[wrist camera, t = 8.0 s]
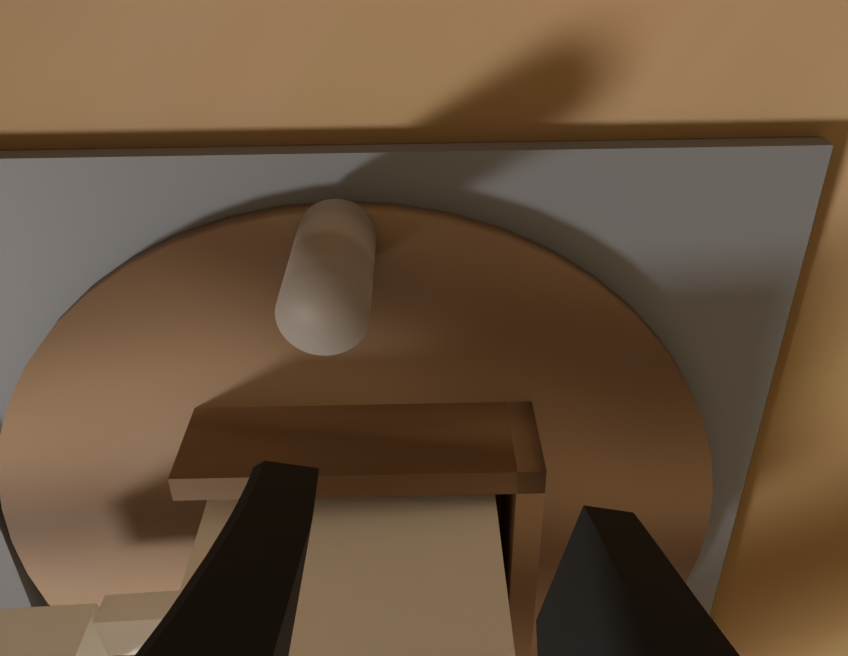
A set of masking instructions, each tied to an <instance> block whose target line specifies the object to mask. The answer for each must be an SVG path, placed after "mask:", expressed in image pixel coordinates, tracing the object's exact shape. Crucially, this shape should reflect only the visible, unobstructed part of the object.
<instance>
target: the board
mask: <svg viewBox="0 0 848 656" xmlns="http://www.w3.org/2000/svg"><path fill="white" fill-rule="evenodd" d="M832 149H833V144H831V143H830V142H829V141H827V140H826V139H825V138H823V137H798V138H737V139H676V140H614V141H553V142H492V143H431V144H370V145H308V146H247V147H186V148H125V149H64V150H3V151H0V434H1V430H2V426H3V422H4V418H5V414H6V410H7V406H8V402H9V400H10V398H11V395H12V393H13V391H14V389H15V387H16V385H17V383H18V381H19V378H20V376H21V374H22V372H23V370H24V368H25V366H26V364H27V363H28V361H29V360H30V359H31V357H32V356H33V354H34V353H35V352H36V350H37V349H38V347H39V346H40V345H41V343H42V342H43V340H44V339H45V338H46V336H47V335H48V333H49V332H50V331H51V329H52V328H53V327H54V325H55V324H56V322H57V321H58V320H59V318H60V317H61V316H62V315H63V314H64V313H65V312H66V311H67V310H68V309H69V308H70V307H71V306H72V305H73V304H74V303H75V302H76V301H77V300H78V299H79V298H80V297H81V296H82V295H83V294H84V293H85V292H86V291H87V290H88V289H89V288H90V287H91V286H92V285H93V284H95V283H96V282H98V281H99V280H100V279H102V278H103V277H105V276H106V275H107V274H109V273H110V272H112V271H113V270H114V269H116V268H117V267H119V266H120V265H121V264H123V263H124V262H126V261H127V260H128V259H130V258H131V257H133V256H135V255H137V254H139V253H141V252H143V251H145V250H147V249H149V248H151V247H153V246H155V245H157V244H159V243H160V242H162V241H164V240H166V239H168V238H170V237H172V236H174V235H176V234H179V233H182V232H185V231H187V230H190V229H193V228H196V227H199V226H202V225H205V224H208V223H210V222H213V221H216V220H219V219H222V218H225V217H228V216H233V215H238V214H243V213H247V212H252V211H257V210H262V209H267V208H271V207H276V206H281V205H293V204H306V203H318V202H320V201H323V200H327V199H344V200H348V201H351V202H374V203H396V204H402V205H408V206H414V207H420V208H426V209H432V210H438V211H444V212H450V213H454V214H457V215H460V216H464V217H467V218H470V219H474V220H477V221H481V222H484V223H487V224H491V225H494V226H497V227H501V228H504V229H506V230H508V231H511V232H513V233H515V234H518V235H520V236H522V237H524V238H527V239H529V240H531V241H533V242H536V243H538V244H540V245H542V246H545V247H547V248H549V249H551V250H553V251H555V252H556V253H558V254H560V255H561V256H563V257H565V258H566V259H568V260H569V261H571V262H573V263H574V264H576V265H578V266H579V267H581V268H583V269H584V270H586V271H587V272H589V273H591V274H592V275H594V276H595V277H597V278H598V279H599V280H600V281H601V282H603V283H604V284H605V285H606V286H607V287H609V288H610V289H611V290H612V291H613V292H615V293H616V294H617V295H618V296H619V297H621V298H622V299H623V300H624V301H625V302H627V303H628V304H629V305H630V306H631V307H632V308H633V309H634V310H635V311H636V312H637V314H638V315H639V316H640V317H641V318H642V319H643V320H644V321H645V323H646V324H647V325H648V326H649V327H650V328H651V329H652V330H653V332H654V333H655V334H656V335H657V336H658V337H659V338H660V340H661V341H662V343H663V344H664V346H665V348H666V349H667V351H668V352H669V354H670V355H671V357H672V359H673V360H674V362H675V363H676V365H677V367H678V368H679V370H680V371H681V373H682V375H683V377H684V379H685V381H686V383H687V385H688V387H689V389H690V391H691V394H692V396H693V399H694V401H695V403H696V406H697V408H698V411H699V413H700V415H701V418H702V420H703V423H704V426H705V431H706V435H707V440H708V445H709V449H710V454H711V459H712V484H713V497H712V504H711V510H710V517H709V524H708V529H707V532H706V535H705V538H704V541H703V544H702V547H701V551H700V554H699V557H698V560H697V562H696V564H695V566H694V567H693V569H692V571H691V573H690V575H689V577H688V579H687V581H686V584H687V586H688V587H689V589H690V590H691V591H692V593H693V594H694V595H695V597H696V598H697V599H698V601H699V602H700V604H701V605H702V606H703V608H704V609H705V610H706V612H707V613H708V614H709V616H710V613H711V609H712V605H713V601H714V598H715V594H716V590H717V586H718V582H719V579H720V575H721V571H722V567H723V563H724V560H725V556H726V552H727V548H728V544H729V541H730V537H731V533H732V529H733V525H734V522H735V518H736V514H737V510H738V506H739V503H740V499H741V495H742V491H743V487H744V484H745V480H746V476H747V472H748V468H749V465H750V461H751V457H752V453H753V449H754V446H755V442H756V438H757V434H758V430H759V427H760V423H761V419H762V415H763V411H764V408H765V404H766V400H767V396H768V392H769V389H770V385H771V381H772V377H773V373H774V370H775V366H776V362H777V358H778V354H779V351H780V347H781V343H782V339H783V335H784V332H785V328H786V324H787V320H788V316H789V313H790V309H791V305H792V301H793V297H794V294H795V290H796V286H797V282H798V278H799V275H800V271H801V267H802V263H803V259H804V256H805V252H806V248H807V244H808V240H809V237H810V233H811V229H812V225H813V221H814V218H815V214H816V210H817V206H818V202H819V199H820V195H821V191H822V187H823V183H824V180H825V176H826V172H827V168H828V164H829V161H830V157H831V153H832ZM42 606H50V605H49V604H48V603H47V601H46V600H45V598H44V597H43V596H42V594H41V593H40V591H39V590H38V588H37V587H36V585H35V584H34V582H33V581H32V580H31V578H30V577H29V575H28V574H27V572H26V570H25V568H24V566H23V564H22V562H21V560H20V558H19V556H18V554H17V552H16V549H15V547H14V545H13V543H12V541H11V538H10V534H9V531H8V528H7V525H6V521H5V518H4V515H3V512H2V508H1V500H0V609H10V608H26V607H42Z"/></svg>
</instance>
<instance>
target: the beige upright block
mask: <svg viewBox="0 0 848 656" xmlns="http://www.w3.org/2000/svg"><path fill="white" fill-rule="evenodd" d="M238 500H239V499H233V500H207V503H206V506H205V510H204V513H203V516H202V519H201V523H200V526H199V529H198V532H197V536H196V539H195V542H194V546H193V549H192V552H191V555H190V559H189V562H188V565H187V569H186V572H185V575H184V578H183V582H182V585H181V588H180V590H178V591H162V592H146V593H130V594H114V595H105V596H104V598H103V601H102V603H101V606H100V608H99V607H98V605H97V603H90V604H74V605H58V606H42V607H26V608H10V609H0V656H117V655H134V654H136V653H137V652H138V650H139V649H140V648H141V646H142V645H143V644H144V643H145V641H146V640H147V639H148V637H149V636H150V635H151V634H152V632H153V631H154V630H155V628H156V627H157V626H158V624H159V623H160V622H161V620H162V619H163V618H164V616H165V615H166V613H167V612H168V611H169V609H170V608H171V606H172V605H173V603H174V602H175V600H176V599H177V598H178V596H179V595H180V593H181V592H182V590H183V589H184V587H185V586H186V584H187V583H188V581H189V580H190V578H191V577H192V575H193V574H194V572H195V571H196V570H197V568H198V567H199V565H200V564H201V562H202V561H203V559H204V558H205V556H206V555H207V553H208V552H209V550H210V548H211V547H212V545H213V543H214V542H215V540H216V539H217V537H218V535H219V534H220V532H221V530H222V529H223V527H224V525H225V524H226V522H227V520H228V518H229V517H230V515H231V513H232V511H233V510H234V508H235V506H236V504H237V502H238ZM289 656H515V649H514V641H513V633H512V625H511V617H510V609H509V601H508V593H507V585H506V577H505V570H504V562H503V554H502V546H501V538H500V530H499V522H498V514H497V506H496V499H495V494H488V495H437V496H386V497H335V498H315V504H314V512H313V519H312V524H311V530H310V536H309V542H308V547H307V553H306V559H305V564H304V570H303V576H302V582H301V587H300V593H299V599H298V604H297V610H296V616H295V622H294V627H293V633H292V639H291V645H290V650H289Z"/></svg>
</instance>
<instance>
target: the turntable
mask: <svg viewBox="0 0 848 656" xmlns="http://www.w3.org/2000/svg"><path fill="white" fill-rule="evenodd" d="M263 461H271V462H279V463H286V464H293V465H300V466H307V467H314V468H319V474H318V482H317V489H316V497H315V498H335V497H386V496H437V495H488V494H495V499H496V506H497V514H498V522H499V530H500V538H501V546H502V554H503V562H504V570H505V577H506V585H507V593H508V601H509V609H510V617H511V625H512V633H513V641H514V649H515V656H538V653H537V633H536V619H537V617H538V614H539V612H540V609H541V607H542V605H543V602H544V600H545V597H546V595H547V592H548V590H549V588H550V585H551V583H552V580H553V578H554V575H555V573H556V571H557V568H558V566H559V563H560V561H561V558H562V556H563V554H564V551H565V549H566V546H567V544H568V541H569V539H570V537H571V534H572V532H573V529H574V527H575V524H576V522H577V520H578V517H579V515H580V512H581V510H582V507H583V505H585V506H592V507H599V508H606V509H613V510H620V511H627V512H634V514H635V515H636V516H637V518H638V519H639V520H640V522H641V523H642V524H643V526H644V527H645V528H646V530H647V531H648V532H649V534H650V535H651V536H652V538H653V539H654V540H655V542H656V543H657V545H658V546H659V547H660V549H661V550H662V551H663V553H664V554H665V556H666V557H667V558H668V560H669V561H670V562H671V564H672V565H673V567H674V568H675V569H676V571H677V572H678V573H679V575H680V576H681V578H682V579H683V580H684V582H685V583H686V581H687V579H688V577H689V575H690V573H691V571H692V569H693V567H694V566H695V564H696V562H697V560H698V557H699V554H700V551H701V547H702V544H703V541H704V538H705V535H706V532H707V529H708V524H709V517H710V510H711V504H712V497H713V484H712V459H711V454H710V449H709V445H708V440H707V435H706V431H705V426H704V423H703V420H702V418H701V415H700V413H699V411H698V408H697V406H696V403H695V401H694V399H693V396H692V394H691V391H690V389H689V387H688V385H687V383H686V381H685V379H684V377H683V375H682V373H681V371H680V370H679V368H678V367H677V365H676V363H675V362H674V360H673V359H672V357H671V355H670V354H669V352H668V351H667V349H666V348H665V346H664V344H663V343H662V341H661V340H660V338H659V337H658V336H657V335H656V334H655V333H654V332H653V330H652V329H651V328H650V327H649V326H648V325H647V324H646V323H645V321H644V320H643V319H642V318H641V317H640V316H639V315H638V314H637V312H636V311H635V310H634V309H633V308H632V307H631V306H630V305H629V304H628V303H627V302H625V301H624V300H623V299H622V298H621V297H619V296H618V295H617V294H616V293H615V292H613V291H612V290H611V289H610V288H609V287H607V286H606V285H605V284H604V283H603V282H601V281H600V280H599V279H598V278H597V277H595V276H594V275H592V274H591V273H589V272H587V271H586V270H584V269H583V268H581V267H579V266H578V265H576V264H574V263H573V262H571V261H569V260H568V259H566V258H565V257H563V256H561V255H560V254H558V253H556V252H555V251H553V250H551V249H549V248H547V247H545V246H542V245H540V244H538V243H536V242H533V241H531V240H529V239H527V238H524V237H522V236H520V235H518V234H515V233H513V232H511V231H508V230H506V229H504V228H501V227H497V226H494V225H491V224H487V223H484V222H481V221H477V220H474V219H470V218H467V217H464V216H460V215H457V214H454V213H450V212H444V211H438V210H432V209H426V208H420V207H414V206H408V205H402V204H396V203H374V202H351V201H348V200H344V199H327V200H323V201H320V202H318V203H306V204H293V205H281V206H276V207H271V208H267V209H262V210H257V211H252V212H247V213H243V214H238V215H233V216H228V217H225V218H222V219H219V220H216V221H213V222H210V223H208V224H205V225H202V226H199V227H196V228H193V229H190V230H187V231H185V232H182V233H179V234H176V235H174V236H172V237H170V238H168V239H166V240H164V241H162V242H160V243H159V244H157V245H155V246H153V247H151V248H149V249H147V250H145V251H143V252H141V253H139V254H137V255H135V256H133V257H131V258H130V259H128V260H127V261H126V262H124V263H123V264H121V265H120V266H119V267H117V268H116V269H114V270H113V271H112V272H110V273H109V274H107V275H106V276H105V277H103V278H102V279H100V280H99V281H98V282H96V283H95V284H93V285H92V286H91V287H90V288H89V289H88V290H87V291H86V292H85V293H84V294H83V295H82V296H81V297H80V298H79V299H78V300H77V301H76V302H75V303H74V304H73V305H72V306H71V307H70V308H69V309H68V310H67V311H66V312H65V313H64V314H63V315H62V316H61V317H60V318H59V320H58V321H57V322H56V324H55V325H54V327H53V328H52V329H51V331H50V332H49V333H48V335H47V336H46V338H45V339H44V340H43V342H42V343H41V345H40V346H39V347H38V349H37V350H36V352H35V353H34V354H33V356H32V357H31V359H30V360H29V361H28V363H27V364H26V366H25V368H24V370H23V372H22V374H21V376H20V378H19V381H18V383H17V385H16V387H15V389H14V391H13V393H12V395H11V398H10V400H9V402H8V406H7V410H6V414H5V418H4V422H3V426H2V430H1V434H0V500H1V508H2V512H3V515H4V518H5V521H6V525H7V528H8V531H9V534H10V538H11V541H12V543H13V545H14V547H15V549H16V552H17V554H18V556H19V558H20V560H21V562H22V564H23V566H24V568H25V570H26V572H27V574H28V575H29V577H30V578H31V580H32V581H33V582H34V584H35V585H36V587H37V588H38V590H39V591H40V593H41V594H42V596H43V597H44V598H45V600H46V601H47V603H48V604H49V605H50V606H58V605H74V604H90V603H97V605H98V607H99V608H100V606H101V603H102V601H103V598H104V596H105V595H114V594H130V593H146V592H162V591H178V590H180V588H181V585H182V582H183V578H184V575H185V572H186V569H187V565H188V562H189V559H190V555H191V552H192V549H193V546H194V542H195V539H196V536H197V532H198V529H199V526H200V523H201V519H202V516H203V513H204V510H205V506H206V503H207V500H233V499H239V498H240V496H241V494H242V492H243V490H244V488H245V486H246V484H247V482H248V479H249V477H250V474H251V472H252V469H253V467H254V466H256V465H258V464H260V463H261V462H263ZM117 656H135V654H134V655H117Z"/></svg>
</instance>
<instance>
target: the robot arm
mask: <svg viewBox="0 0 848 656" xmlns="http://www.w3.org/2000/svg"><path fill="white" fill-rule="evenodd" d="M318 474H319V468H314V467H307V466H300V465H293V464H286V463H279V462H271V461H263V462H261V463H260V464H258V465H256V466H254V467H253V469H252V472H251V474H250V477H249V479H248V482H247V484H246V486H245V488H244V490H243V492H242V494H241V496H240V498H239V500H238V502H237V504H236V506H235V508H234V510H233V511H232V513H231V515H230V517H229V518H228V520H227V522H226V524H225V525H224V527H223V529H222V530H221V532H220V534H219V535H218V537H217V539H216V540H215V542H214V543H213V545H212V547H211V548H210V550H209V552H208V553H207V555H206V556H205V558H204V559H203V561H202V562H201V564H200V565H199V567H198V568H197V570H196V571H195V572H194V574H193V575H192V577H191V578H190V580H189V581H188V583H187V584H186V586H185V587H184V589H183V590H182V592H181V593H180V595H179V596H178V598H177V599H176V600H175V602H174V603H173V605H172V606H171V608H170V609H169V611H168V612H167V613H166V615H165V616H164V618H163V619H162V620H161V622H160V623H159V624H158V626H157V627H156V628H155V630H154V631H153V632H152V634H151V635H150V636H149V637H148V639H147V640H146V641H145V643H144V644H143V645H142V646H141V648H140V649H139V650H138V652H137V653H136V654H135V656H289V650H290V645H291V639H292V633H293V627H294V622H295V616H296V610H297V604H298V599H299V593H300V587H301V582H302V576H303V570H304V564H305V559H306V553H307V547H308V542H309V536H310V530H311V524H312V519H313V512H314V504H315V497H316V489H317V482H318ZM536 633H537V653H538V656H740V655H739V654H738V653H737V652H736V650H735V649H734V648H733V646H732V645H731V644H730V642H729V641H728V640H727V638H726V637H725V636H724V634H723V633H722V632H721V630H720V629H719V628H718V626H717V625H716V624H715V622H714V621H713V620H712V618H711V617H710V616H709V614H708V613H707V612H706V610H705V609H704V608H703V606H702V605H701V604H700V602H699V601H698V599H697V598H696V597H695V595H694V594H693V593H692V591H691V590H690V589H689V587H688V586H687V584H686V583H685V582H684V580H683V579H682V578H681V576H680V575H679V573H678V572H677V571H676V569H675V568H674V567H673V565H672V564H671V562H670V561H669V560H668V558H667V557H666V556H665V554H664V553H663V551H662V550H661V549H660V547H659V546H658V545H657V543H656V542H655V540H654V539H653V538H652V536H651V535H650V534H649V532H648V531H647V530H646V528H645V527H644V526H643V524H642V523H641V522H640V520H639V519H638V518H637V516H636V515H635V514H634V512H627V511H620V510H613V509H606V508H599V507H592V506H585V505H583V507H582V510H581V512H580V515H579V517H578V520H577V522H576V524H575V527H574V529H573V532H572V534H571V537H570V539H569V541H568V544H567V546H566V549H565V551H564V554H563V556H562V558H561V561H560V563H559V566H558V568H557V571H556V573H555V575H554V578H553V580H552V583H551V585H550V588H549V590H548V592H547V595H546V597H545V600H544V602H543V605H542V607H541V609H540V612H539V614H538V617H537V619H536Z"/></svg>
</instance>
